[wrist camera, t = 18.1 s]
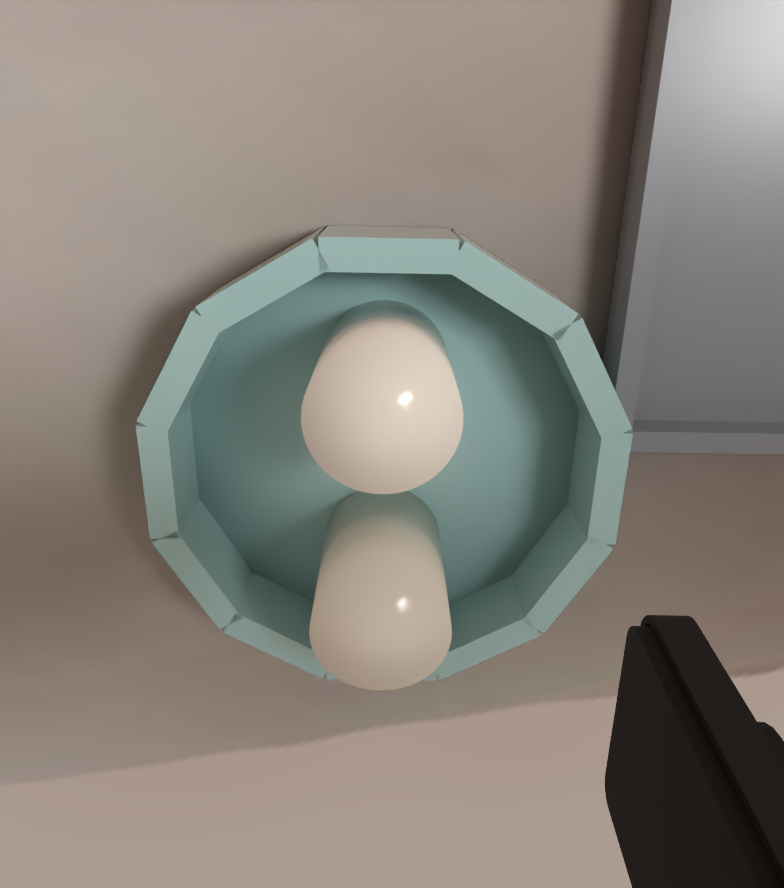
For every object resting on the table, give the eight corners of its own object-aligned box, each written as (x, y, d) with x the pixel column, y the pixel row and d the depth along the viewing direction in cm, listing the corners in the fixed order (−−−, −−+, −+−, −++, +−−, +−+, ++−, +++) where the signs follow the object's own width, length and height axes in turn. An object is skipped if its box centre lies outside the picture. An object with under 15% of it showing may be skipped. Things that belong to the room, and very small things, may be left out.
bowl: (620, 231, 24) (663, 243, 20) (567, 618, 30) (593, 682, 26) (154, 221, 24) (111, 232, 20) (194, 614, 30) (167, 678, 26)
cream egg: (445, 295, 24) (461, 336, 18) (449, 418, 25) (465, 489, 20) (315, 303, 24) (292, 346, 18) (328, 425, 25) (310, 498, 20)
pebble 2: (441, 486, 26) (455, 573, 21) (436, 585, 28) (448, 691, 22) (324, 485, 26) (307, 572, 21) (326, 584, 28) (311, 690, 22)
